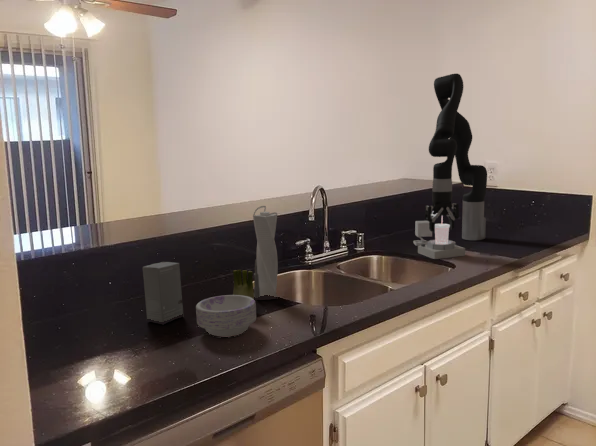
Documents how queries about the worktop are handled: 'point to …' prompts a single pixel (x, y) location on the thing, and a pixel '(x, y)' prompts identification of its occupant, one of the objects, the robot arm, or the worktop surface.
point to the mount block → (441, 250)
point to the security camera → (422, 232)
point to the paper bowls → (226, 314)
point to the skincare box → (162, 291)
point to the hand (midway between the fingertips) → (441, 230)
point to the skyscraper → (265, 254)
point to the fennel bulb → (243, 283)
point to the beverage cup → (441, 232)
